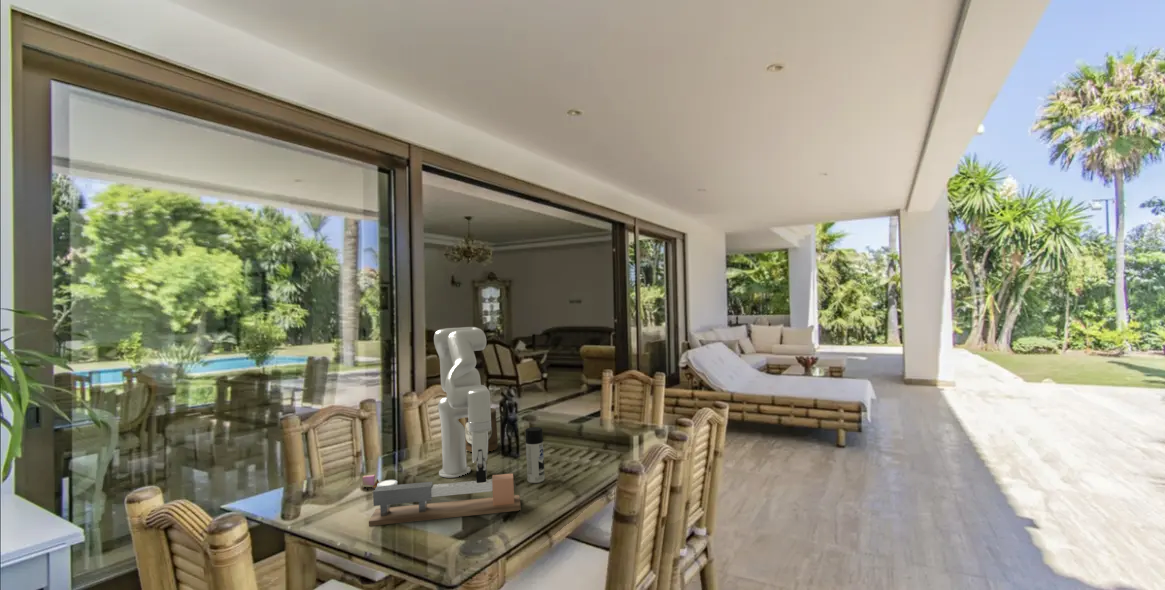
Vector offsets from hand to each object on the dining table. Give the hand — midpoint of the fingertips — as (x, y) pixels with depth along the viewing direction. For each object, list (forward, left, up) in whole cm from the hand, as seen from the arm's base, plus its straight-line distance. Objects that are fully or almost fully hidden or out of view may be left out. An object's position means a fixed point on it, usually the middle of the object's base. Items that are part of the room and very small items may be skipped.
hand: (481, 478), depth 175 cm
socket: (0, +7, -9) cm, 11 cm away
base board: (0, -11, -10) cm, 15 cm away
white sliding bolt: (0, -6, -4) cm, 7 cm away
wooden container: (-72, -2, -10) cm, 73 cm away
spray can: (-22, +20, -10) cm, 31 cm away
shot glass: (-14, -33, -10) cm, 38 cm away
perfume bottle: (-33, -41, -11) cm, 54 cm away
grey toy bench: (0, -25, -9) cm, 27 cm away
